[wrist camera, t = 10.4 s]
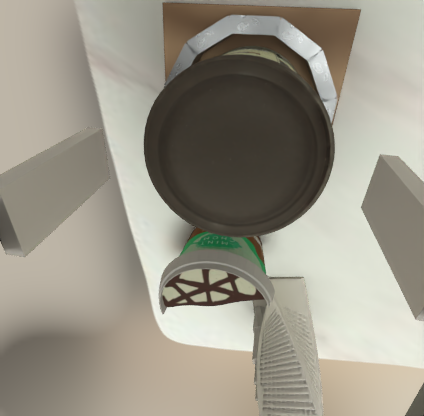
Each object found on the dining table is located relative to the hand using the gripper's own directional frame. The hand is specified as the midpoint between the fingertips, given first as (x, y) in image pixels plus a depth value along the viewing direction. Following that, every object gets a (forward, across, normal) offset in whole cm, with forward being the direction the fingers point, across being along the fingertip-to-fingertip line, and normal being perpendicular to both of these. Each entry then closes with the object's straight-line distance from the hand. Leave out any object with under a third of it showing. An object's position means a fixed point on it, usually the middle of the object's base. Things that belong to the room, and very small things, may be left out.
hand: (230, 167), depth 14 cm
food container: (+16, -2, -16) cm, 23 cm away
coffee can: (+16, 0, -1) cm, 16 cm away
